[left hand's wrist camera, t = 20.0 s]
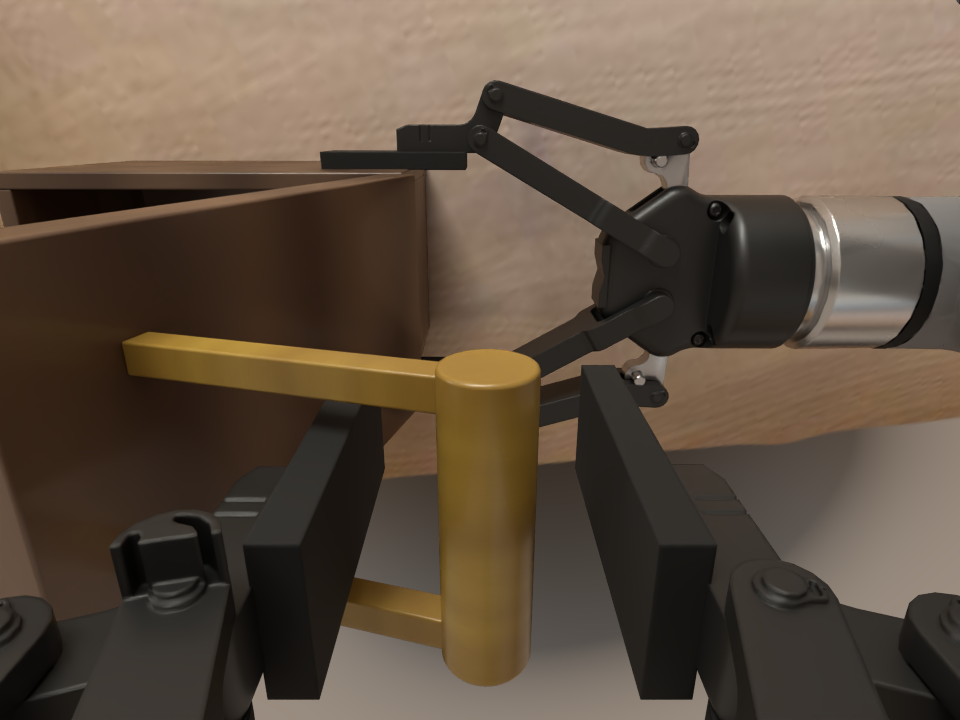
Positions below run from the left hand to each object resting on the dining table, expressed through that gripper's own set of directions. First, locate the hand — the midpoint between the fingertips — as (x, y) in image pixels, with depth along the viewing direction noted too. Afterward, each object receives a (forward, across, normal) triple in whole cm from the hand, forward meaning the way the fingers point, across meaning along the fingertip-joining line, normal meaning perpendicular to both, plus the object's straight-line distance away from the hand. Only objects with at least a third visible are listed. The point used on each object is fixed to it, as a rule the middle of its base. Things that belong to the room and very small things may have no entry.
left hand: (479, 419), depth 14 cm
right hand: (+17, -7, 0) cm, 19 cm away
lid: (+4, -6, 0) cm, 8 cm away
